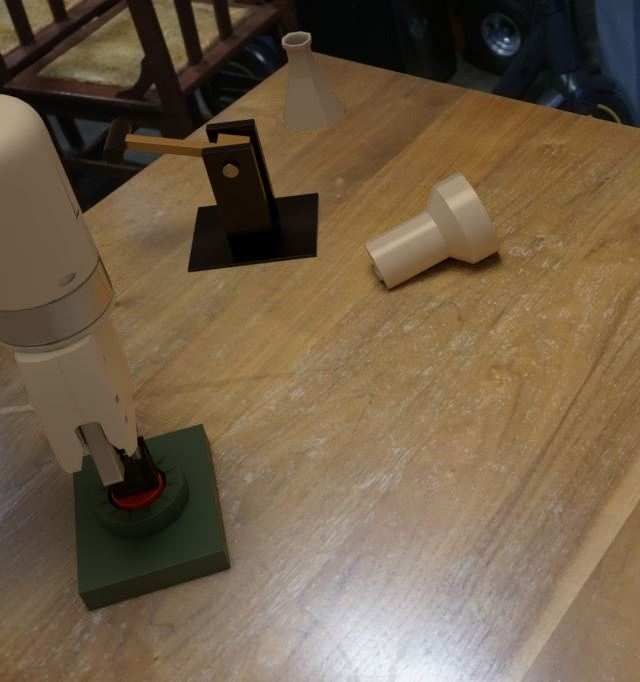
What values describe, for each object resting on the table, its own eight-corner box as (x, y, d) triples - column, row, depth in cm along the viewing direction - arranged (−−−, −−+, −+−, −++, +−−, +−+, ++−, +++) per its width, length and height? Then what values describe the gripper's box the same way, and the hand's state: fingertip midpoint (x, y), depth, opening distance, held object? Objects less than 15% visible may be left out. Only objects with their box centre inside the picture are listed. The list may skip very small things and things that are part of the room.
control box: (81, 477, 86) (63, 443, 83) (209, 441, 88) (196, 407, 85) (88, 611, 77) (69, 578, 74) (231, 568, 79) (217, 534, 76)
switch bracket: (190, 279, 103) (154, 175, 95) (201, 216, 110) (167, 114, 102) (318, 264, 103) (292, 158, 95) (320, 202, 111) (296, 99, 103)
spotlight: (514, 261, 99) (484, 188, 95) (404, 322, 98) (368, 250, 93) (482, 227, 106) (452, 157, 101) (378, 284, 104) (343, 215, 100)
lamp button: (117, 489, 82) (109, 474, 80) (165, 475, 82) (159, 460, 81) (120, 526, 79) (112, 511, 78) (170, 511, 80) (163, 496, 78)
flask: (292, 103, 125) (273, 21, 118) (353, 104, 124) (338, 22, 117) (273, 138, 120) (252, 55, 113) (337, 139, 119) (320, 56, 112)
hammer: (102, 167, 97) (101, 143, 95) (111, 136, 100) (110, 113, 99) (246, 180, 99) (247, 158, 98) (250, 150, 103) (251, 128, 101)
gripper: (-15, 239, 71) (81, 429, 84) (-22, 392, 61) (89, 583, 73) (102, 211, 73) (179, 402, 85) (115, 356, 62) (201, 550, 75)
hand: (137, 485), depth 79 cm, fingers closed
